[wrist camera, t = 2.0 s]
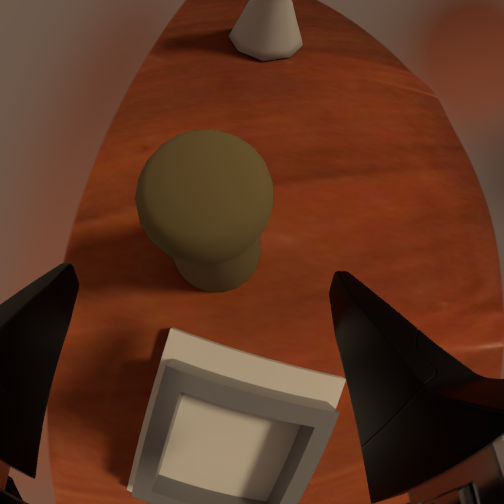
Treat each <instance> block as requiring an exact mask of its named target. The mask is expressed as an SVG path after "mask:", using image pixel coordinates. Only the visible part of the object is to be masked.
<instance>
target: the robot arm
mask: <svg viewBox="0 0 504 504" xmlns="http://www.w3.org/2000/svg"><path fill="white" fill-rule="evenodd" d="M78 290H79V282H78V279H77V276H76V273H75V270H74V267H73V266H72V265H71V264H60V265H59V266H57V267H56V268H54V269H52V270H51V271H49V272H48V273H46V274H44V275H43V276H41V277H40V278H38V279H37V280H35V281H34V282H32V283H31V284H29V285H28V286H26V287H25V288H23V289H22V290H20V291H19V292H18V293H16V294H15V295H14V296H12V297H11V298H9V299H8V300H6V301H5V302H4V303H2V304H1V305H0V504H28V503H26V502H24V501H23V500H22V498H21V496H20V494H19V492H18V490H17V488H16V486H15V484H14V481H13V479H12V478H11V477H9V476H8V474H9V469H10V467H12V468H13V469H15V470H17V471H19V472H21V473H23V474H25V475H27V476H29V477H32V478H35V476H36V468H37V460H38V459H37V458H38V452H39V445H40V439H41V433H42V426H43V421H44V416H45V411H46V407H47V402H48V398H49V393H50V389H51V385H52V381H53V377H54V374H55V370H56V366H57V363H58V359H59V356H60V353H61V349H62V346H63V343H64V340H65V337H66V334H67V331H68V328H69V324H70V321H71V317H72V313H73V309H74V305H75V301H76V297H77V293H78ZM329 298H330V304H331V311H332V318H333V325H334V331H335V337H336V341H337V345H338V349H339V352H340V356H341V360H342V364H343V368H344V372H345V376H346V381H347V385H348V389H349V393H350V397H351V402H352V406H353V411H354V415H355V420H356V424H357V429H358V434H359V439H360V444H361V447H362V448H361V449H362V455H363V460H364V465H365V471H366V476H367V482H368V488H369V494H370V500H371V503H372V504H373V503H377V502H380V501H383V500H387V499H390V498H393V497H396V496H399V495H402V494H405V493H408V495H409V500H410V503H407V504H504V379H493V378H486V377H483V376H480V375H478V374H476V373H474V372H473V371H472V370H470V369H469V368H468V367H466V366H465V365H463V364H462V363H461V362H459V361H458V360H457V359H455V358H454V357H453V356H451V355H450V354H449V353H447V352H446V351H445V350H443V349H442V348H441V347H439V346H438V345H437V344H435V343H434V342H433V341H432V340H431V339H429V338H428V337H427V336H426V335H425V334H423V333H422V332H421V331H420V330H417V328H416V327H415V326H414V325H413V324H412V323H410V322H409V321H408V320H407V319H406V318H404V317H403V316H402V315H401V314H400V313H398V312H397V311H396V310H395V309H393V308H392V307H391V306H390V305H389V304H387V303H386V302H385V301H384V300H383V299H381V298H380V297H379V296H378V295H376V294H375V293H374V292H373V291H371V290H370V289H369V288H368V287H366V286H365V285H364V284H363V283H361V282H360V281H359V280H358V279H356V278H355V277H354V276H353V275H351V274H350V273H349V272H347V271H337V272H335V274H334V276H333V280H332V283H331V287H330V291H329Z"/></svg>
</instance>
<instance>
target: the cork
mask: <svg viewBox="0 0 504 504" xmlns="http://www.w3.org/2000/svg"><path fill="white" fill-rule="evenodd" d="M135 200H136V205H137V210H138V215H139V220H140V224H141V226H142V228H143V229H144V231H145V233H146V234H147V236H148V237H149V239H150V241H151V242H152V243H153V244H155V245H156V246H157V247H158V248H160V249H161V250H162V251H163V252H165V253H166V254H167V255H168V256H170V257H171V258H173V259H174V262H175V265H176V268H177V269H178V271H179V272H180V274H181V275H182V277H183V278H184V279H185V280H186V281H187V282H189V283H190V284H191V285H192V286H194V287H195V288H198V289H201V290H204V291H207V292H225V291H228V290H231V289H235V288H237V287H238V286H240V285H241V284H243V283H244V282H245V281H247V280H248V279H249V277H250V276H251V275H252V273H253V272H254V271H255V269H256V267H257V264H258V261H259V258H260V237H259V236H260V235H261V234H262V232H263V231H264V230H265V228H266V226H267V223H268V220H269V217H270V214H271V211H272V208H273V183H272V180H271V177H270V174H269V172H268V169H267V166H266V164H265V161H264V160H263V159H262V158H261V156H260V155H259V154H258V153H257V152H256V150H255V149H254V148H253V147H252V146H251V145H249V144H248V143H246V142H244V141H243V140H241V139H239V138H238V137H236V136H234V135H232V134H228V133H225V132H221V131H217V130H194V131H191V132H187V133H183V134H180V135H177V136H176V137H174V138H172V139H171V140H169V141H167V142H166V143H164V144H162V145H161V146H160V147H159V148H158V150H157V151H156V152H155V153H154V154H153V155H152V156H151V157H150V158H149V159H148V161H147V162H146V164H145V166H144V168H143V170H142V172H141V174H140V176H139V178H138V183H137V190H136V197H135Z"/></svg>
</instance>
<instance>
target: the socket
mask: <svg viewBox="0 0 504 504" xmlns="http://www.w3.org/2000/svg"><path fill="white" fill-rule="evenodd" d="M345 381H346V379H345V378H343V377H341V376H337V375H332V374H328V373H323V372H319V371H315V370H311V369H307V368H303V367H299V366H295V365H291V364H287V363H283V362H280V361H276V360H273V359H269V358H265V357H262V356H259V355H255V354H252V353H248V352H245V351H242V350H239V349H235V348H232V347H229V346H226V345H223V344H220V343H217V342H214V341H211V340H208V339H205V338H202V337H199V336H196V335H193V334H190V333H188V332H185V331H182V330H179V329H177V328H174V327H173V328H171V329H170V332H169V335H168V338H167V341H166V345H165V348H164V351H163V354H162V358H161V361H160V364H159V368H158V371H157V375H156V378H155V381H154V385H153V388H152V392H151V396H150V399H149V403H148V406H147V410H146V414H145V417H144V421H143V425H142V429H141V433H140V437H139V441H138V445H137V449H136V453H135V457H134V461H133V465H132V470H131V474H130V478H129V483H128V488H127V490H128V491H130V492H132V494H131V496H133V497H136V498H138V499H141V500H143V501H146V502H149V503H151V504H298V503H299V501H300V499H301V497H302V495H303V493H304V491H305V489H306V487H307V485H308V483H309V481H310V479H311V477H312V475H313V473H314V471H315V469H316V467H317V465H318V463H319V461H320V458H321V456H322V454H323V452H324V449H325V447H326V445H327V443H328V440H329V438H330V436H331V433H332V431H333V428H334V426H335V423H336V421H337V418H338V416H339V413H340V412H338V411H337V410H336V406H337V404H338V401H339V398H340V395H341V393H342V390H343V387H344V384H345Z"/></svg>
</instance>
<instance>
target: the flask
mask: <svg viewBox="0 0 504 504" xmlns="http://www.w3.org/2000/svg"><path fill="white" fill-rule="evenodd" d="M229 38H230V39H231V41H232V42H233V44H234V46H235V47H236V49H237V50H238V51H239V52H242V53H245V54H247V55H249V56H252V57H254V58H257V59H259V60H261V61H267V60H274V59H281V58H288V57H291V56H292V55H293V54H294V53H295V52H296V51H297V50H298V49H299V48H300V47H301V46H303V44H302V40H301V36H300V32H299V28H298V24H297V21H296V16H295V12H294V8H293V3H292V0H249V2H248V4H247V6H246V7H245V9H244V11H243V13H242V14H241V16H240V18H239V19H238V21H237V22H236V24H235V26H234V27H233V29H232V31H231V33H230V35H229Z"/></svg>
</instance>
